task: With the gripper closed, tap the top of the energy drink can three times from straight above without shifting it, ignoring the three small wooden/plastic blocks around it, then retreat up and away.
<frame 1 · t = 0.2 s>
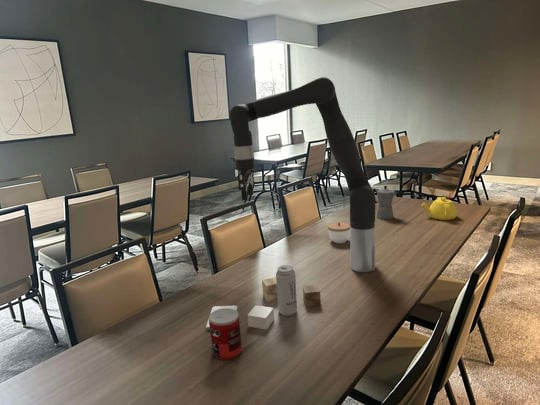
hand: (247, 197, 152), 29 cm above the table, fingers open, 8 cm apart
coffeepot: (383, 217, 215), on the table
energy drink can: (287, 312, 122), on the table
external hard drive: (222, 320, 120), on the table
pale grey block: (261, 323, 116), on the table
canned food: (227, 352, 104), on the table
oak block: (272, 297, 132), on the table
teapot: (438, 217, 208), on the table
lidded jar: (339, 241, 181), on the table
walnut block: (311, 302, 127), on the table
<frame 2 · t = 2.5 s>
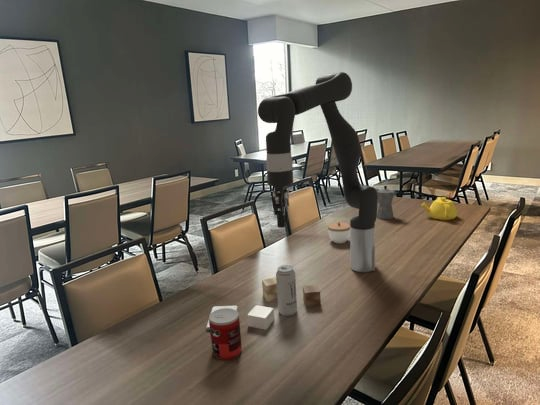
hand: (282, 224, 114), 29 cm above the table, fingers open, 4 cm apart
nothing on the table moved.
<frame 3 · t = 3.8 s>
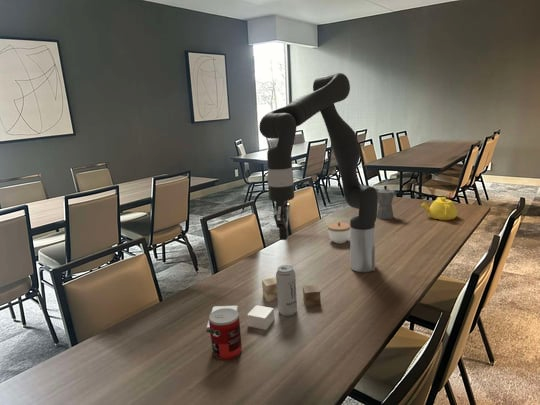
hand: (283, 239, 116), 25 cm above the table, fingers closed
nothing on the table moved.
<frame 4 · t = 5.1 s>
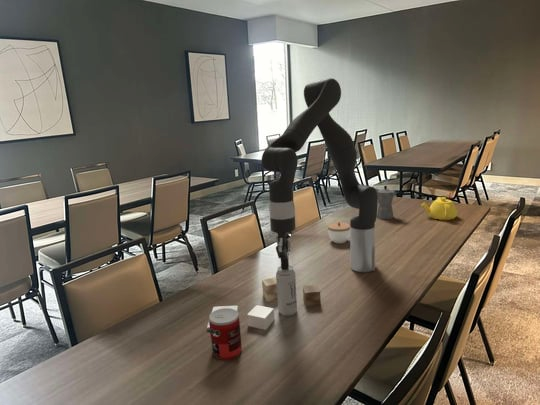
hand: (285, 268, 118), 15 cm above the table, fingers closed
energy drink can: (287, 312, 122), on the table, touching gripper
everything else where it was.
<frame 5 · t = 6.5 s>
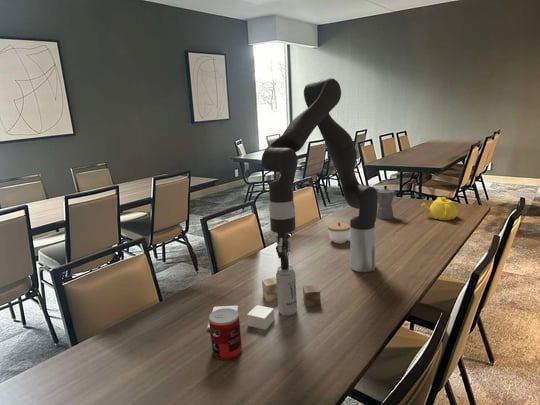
hand: (285, 268, 118), 15 cm above the table, fingers closed
nothing on the table moved.
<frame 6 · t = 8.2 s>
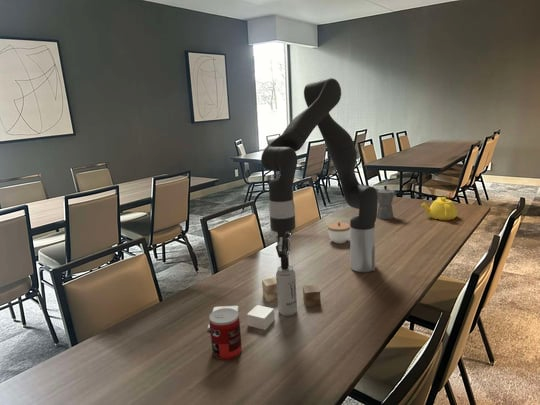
hand: (285, 267, 118), 15 cm above the table, fingers closed
energy drink can: (287, 312, 122), on the table
everything else where it was.
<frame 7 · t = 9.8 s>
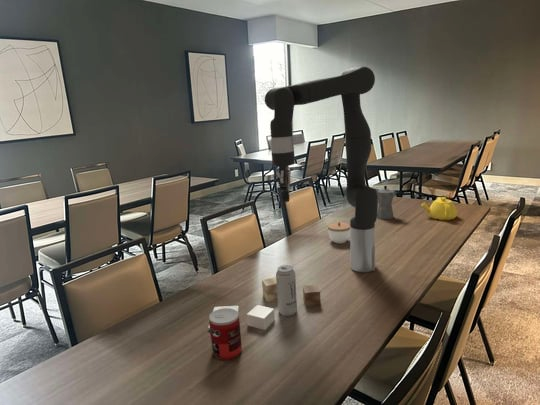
hand: (286, 201, 130), 32 cm above the table, fingers closed
nothing on the table moved.
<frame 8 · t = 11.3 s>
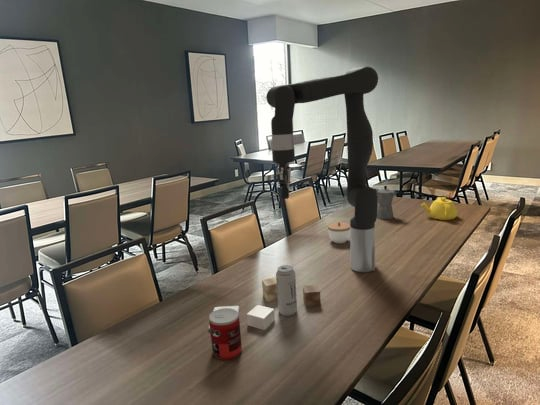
hand: (285, 198, 131), 33 cm above the table, fingers closed
nothing on the table moved.
at the end: energy drink can moved 0.2 cm from its start; energy drink can tilted 0°; energy drink can touching table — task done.
